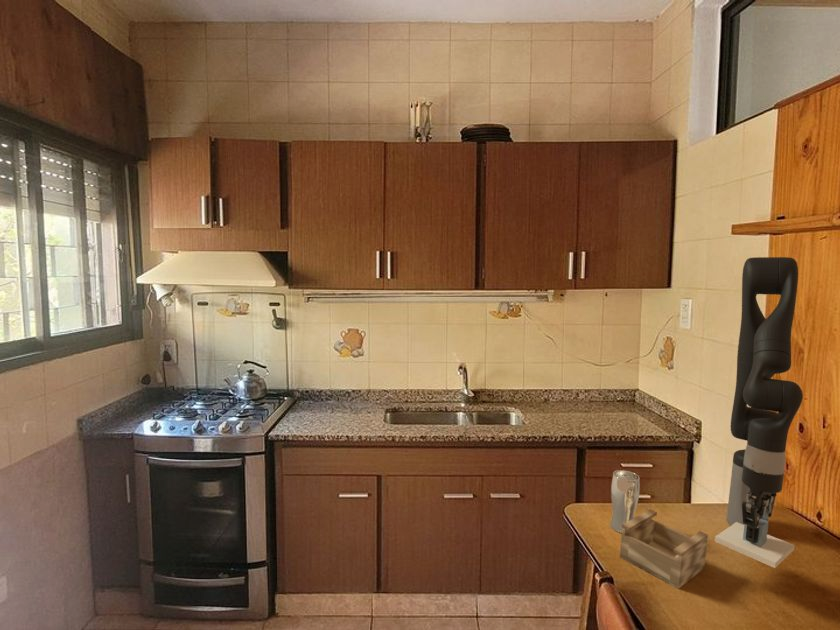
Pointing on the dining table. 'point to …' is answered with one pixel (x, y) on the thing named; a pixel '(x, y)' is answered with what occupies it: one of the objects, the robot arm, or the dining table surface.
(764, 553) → the cover plate
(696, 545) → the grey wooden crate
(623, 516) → the beer glass
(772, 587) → the dining table surface
